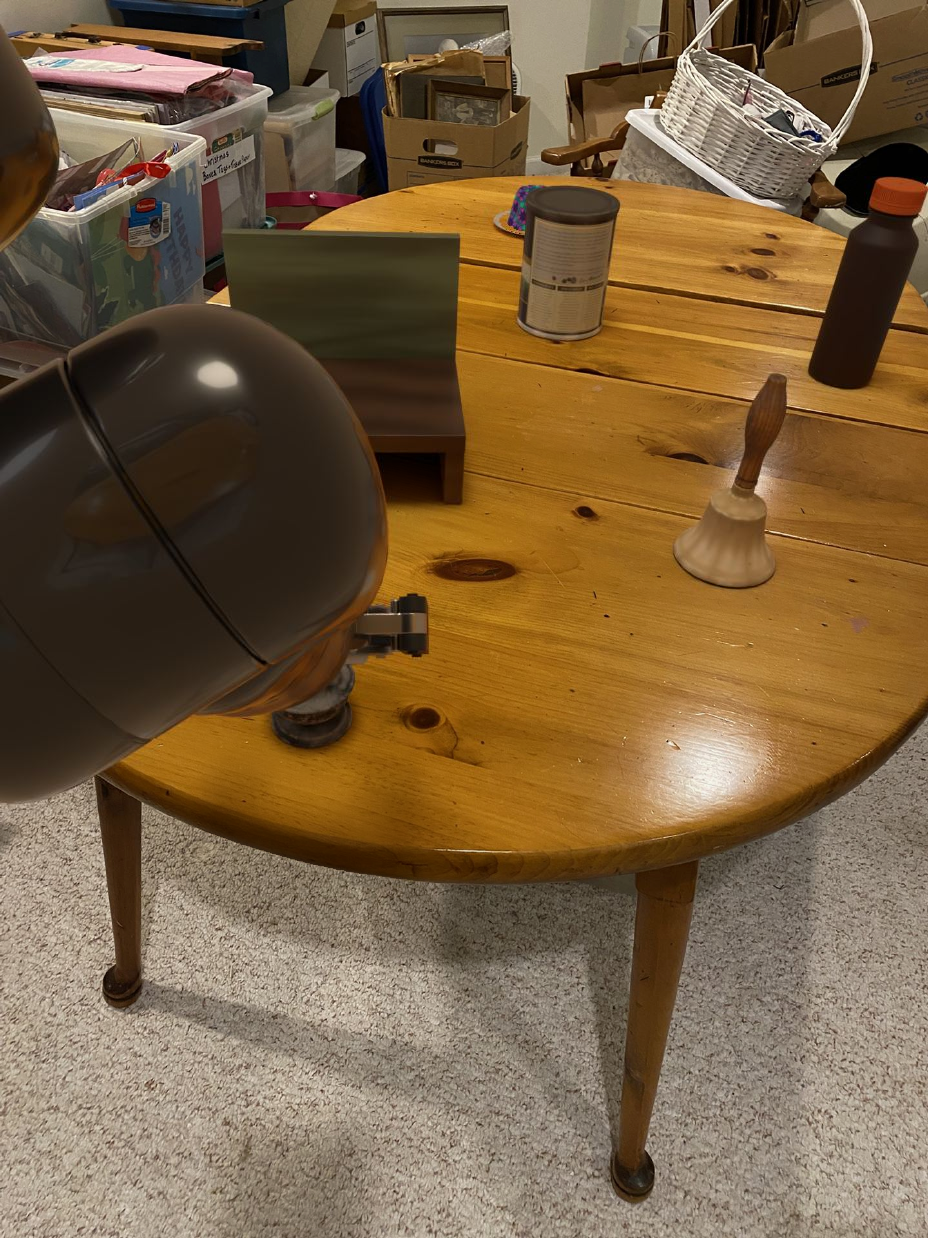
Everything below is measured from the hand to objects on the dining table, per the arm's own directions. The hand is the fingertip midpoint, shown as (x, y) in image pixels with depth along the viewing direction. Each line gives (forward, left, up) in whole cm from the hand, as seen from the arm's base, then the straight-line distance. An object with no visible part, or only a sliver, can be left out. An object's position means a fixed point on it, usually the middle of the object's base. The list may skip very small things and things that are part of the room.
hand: (295, 636), depth 50 cm
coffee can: (-24, +68, -11) cm, 73 cm away
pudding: (-45, +95, -11) cm, 105 cm away
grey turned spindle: (-3, +3, -11) cm, 11 cm away
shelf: (-22, +28, -11) cm, 37 cm away
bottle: (+7, +77, -11) cm, 78 cm away
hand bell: (+11, +37, -11) cm, 40 cm away
